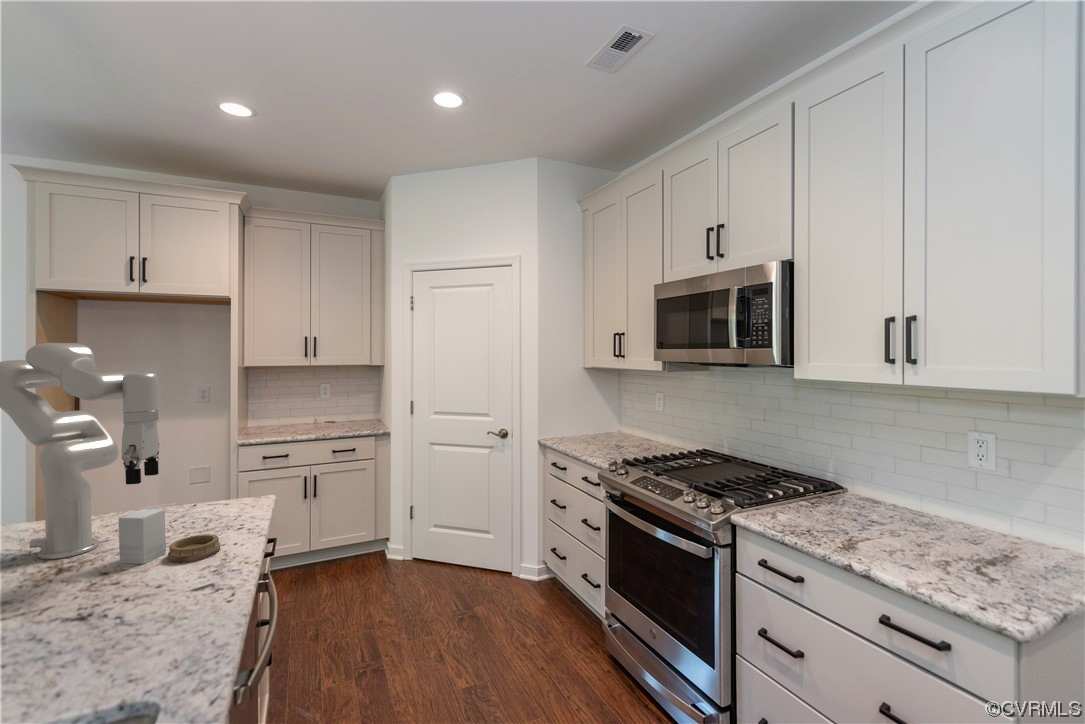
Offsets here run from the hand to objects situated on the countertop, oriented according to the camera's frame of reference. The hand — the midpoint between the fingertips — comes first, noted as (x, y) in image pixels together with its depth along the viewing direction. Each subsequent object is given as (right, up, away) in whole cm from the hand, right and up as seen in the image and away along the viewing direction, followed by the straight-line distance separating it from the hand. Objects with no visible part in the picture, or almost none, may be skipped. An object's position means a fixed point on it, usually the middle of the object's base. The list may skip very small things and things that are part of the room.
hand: (142, 479), depth 135 cm
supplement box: (0, -22, +1) cm, 22 cm away
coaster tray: (+12, -22, +3) cm, 25 cm away
